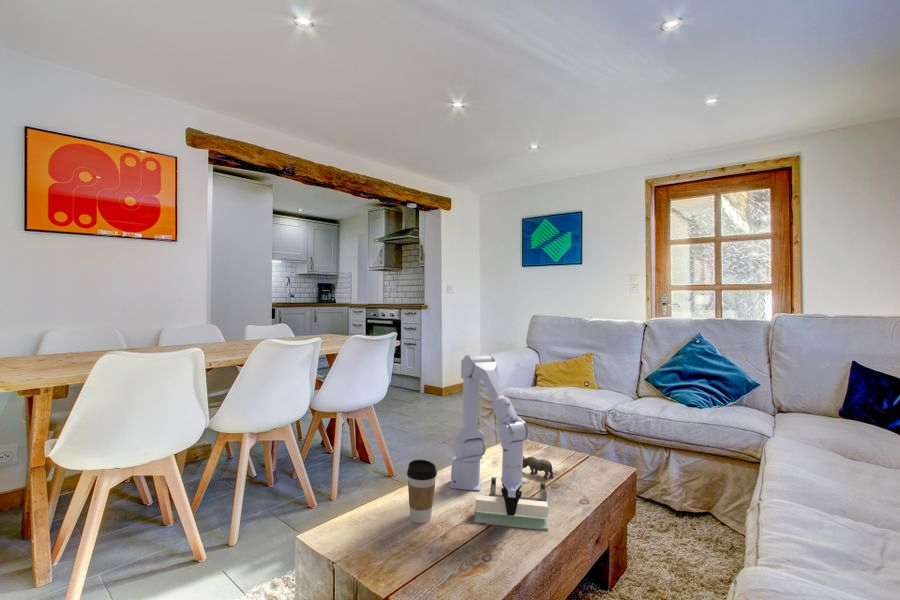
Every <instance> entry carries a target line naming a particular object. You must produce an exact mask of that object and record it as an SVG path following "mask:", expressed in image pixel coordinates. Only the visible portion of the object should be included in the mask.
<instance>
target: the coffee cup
mask: <svg viewBox="0 0 900 600" xmlns="http://www.w3.org/2000/svg"><path fill="white" fill-rule="evenodd" d="M437 471H438V470H437V467H436V465H435V464H434V463H433V462H431V461H429V460H426V459H414V460H411V461H410V462H409V463H408V467H407V471H406V475H407V477H408V480H407V488H408V489H407V490H408V492H407V493H408V501H409V502H408V504H409V505H408V506H409V520H410V521H411V522H412V523H415V522H416V524H426V523H429V522H430V521H431V520H430V519H432V513H433V505H434V497H435V496H434V495H435V489H436V477H437V475H438V472H437Z"/></svg>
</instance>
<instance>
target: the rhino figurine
mask: <svg viewBox="0 0 900 600" xmlns="http://www.w3.org/2000/svg"><path fill="white" fill-rule="evenodd" d="M527 467H529V470H530V473H529V475H530V474H531V475H530V476H534V475H535V473H536V474H539V472H544V475H543V476H542V478H543V479H544V480H547V479H548V478H550V477H551V478H550V479H553V478H554V471H553V468H554V467H553V465H552V463H551V462H550V461H549V460H546V459H538V458H536V457H535V456H527V457H525V456H524V455H523V469H526V468H527ZM549 474H550V475H549Z"/></svg>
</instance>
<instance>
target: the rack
mask: <svg viewBox="0 0 900 600" xmlns="http://www.w3.org/2000/svg"><path fill="white" fill-rule="evenodd" d="M539 482H540V483H539V498H537V497H536V498H535V497H528V496H521V497H520V499H523V500H534V501H544V502H547V503H548V501H547V494H548V491H547V489H546V482H545V481H539ZM490 483H491V484H490V488H489V490H490V492H489V493H488V496H492V497H503V495H502V494H499V493H497V492H496V491H497V477H494V476H491V481H490ZM496 493H497V494H496ZM503 498H504V497H503Z"/></svg>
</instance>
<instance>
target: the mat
mask: <svg viewBox="0 0 900 600" xmlns="http://www.w3.org/2000/svg"><path fill="white" fill-rule="evenodd" d="M474 522H475V523H474ZM473 523H474V524H481V523H486V524H485V525H491V526H492V525H493V526H501V527H502V526H503V527H510V528H511V527H512V528H520V529H529V530H536V531H537V530H540V531H547V532H548V531H549V525H548V518H546V517H536V516H526V515H517V514H515V515H514V516H513V515H507V513H497V512H487V511H477V510H475V514H474V521H473Z"/></svg>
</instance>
